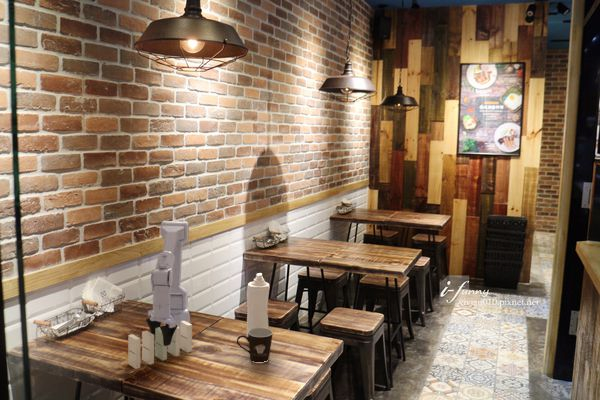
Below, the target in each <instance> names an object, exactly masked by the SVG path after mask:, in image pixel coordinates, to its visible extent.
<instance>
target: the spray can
mask: <svg viewBox="0 0 600 400" xmlns="http://www.w3.org/2000/svg"><path fill="white" fill-rule="evenodd" d="M255 275H256V276H255V277H254V278H253V281H250V282H248V284H247V287H246V307H247V308H246V309H247V316H246V336H247V337H248V331H249V330H250V329H253V328H267V329H270V328H269V327H270V326H269V317H268V314H269V313H268V309H269V308H268V307H269V306H268V305H269V294H270V289H271V288H270V287H271V286H270V283H268V282H267V281H265V278H264V277H263V273H261V272H259V273H256V274H255Z"/></svg>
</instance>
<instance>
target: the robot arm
mask: <svg viewBox="0 0 600 400" xmlns="http://www.w3.org/2000/svg"><path fill="white" fill-rule="evenodd" d="M189 230H190V224H189V222H188V221H178V220H177V221H174V220H173V221H172V220H163V221H161V223H160V230H159V231H160V236H161V237H162V238H161V239H162V240H163V249H162V251H161V252H160V253H159V254H158V257H157V260H156V264H155V269H154V270H152V271H151V275H150V284H151V292H152V309H150V310H148V311H147V317H149V318H146V319H145V322H146V324H147V325H148V327H149V332H150V333H152V334H154V340H155V328H158V327H160V329H161V331H162V335H163V343H164V346H167V347H168V345H170V344H171V340H172V337H173V334H174V332H175V330H176V329H177V327H179V328H180V322H181V321H186V322H188V323H190V324H191V315H190V312H189V310H188V309H187V308H188V301H189V297H188V290H187V289H186V288H184V287H183V286H182V285H181V280H182V265H183V264H182V263H183V261H182V260H183V256H182V255H183V246H184V244H185V243H188V242H189V239H190V238H189V232H190V231H189ZM162 323H163V325H161V324H162Z"/></svg>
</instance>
